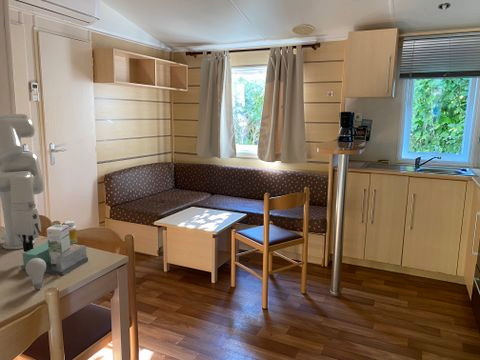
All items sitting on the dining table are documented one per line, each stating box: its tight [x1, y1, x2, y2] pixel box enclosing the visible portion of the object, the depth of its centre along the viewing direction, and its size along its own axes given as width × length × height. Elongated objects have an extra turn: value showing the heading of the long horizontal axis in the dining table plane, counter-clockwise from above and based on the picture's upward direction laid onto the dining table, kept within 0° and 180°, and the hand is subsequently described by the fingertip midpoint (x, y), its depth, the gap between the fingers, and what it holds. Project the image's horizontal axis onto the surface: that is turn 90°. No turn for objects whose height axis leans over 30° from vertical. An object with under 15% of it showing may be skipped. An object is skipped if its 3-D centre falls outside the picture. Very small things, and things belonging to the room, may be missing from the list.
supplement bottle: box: [63, 220, 78, 245], centre depth 167 cm, size 5×5×10 cm
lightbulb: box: [25, 258, 46, 290], centre depth 123 cm, size 6×6×11 cm
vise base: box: [20, 244, 89, 276], centre depth 143 cm, size 19×14×6 cm
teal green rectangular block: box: [22, 241, 50, 266], centre depth 144 cm, size 6×14×5 cm, turn 165°
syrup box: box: [46, 224, 72, 265], centre depth 141 cm, size 6×6×14 cm
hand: (28, 250), depth 146 cm, fingers closed
